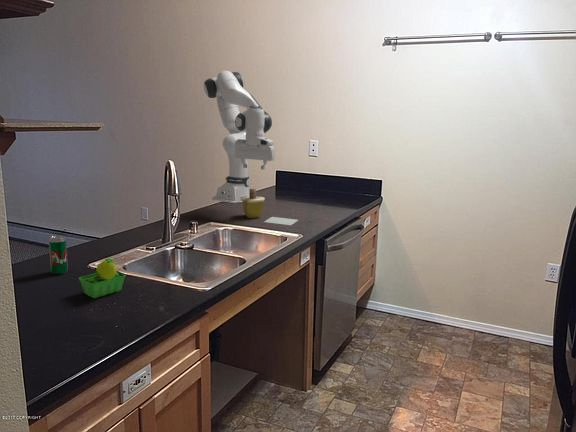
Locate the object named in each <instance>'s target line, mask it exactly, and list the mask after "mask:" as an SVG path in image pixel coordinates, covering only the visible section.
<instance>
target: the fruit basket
mask: <svg viewBox="0 0 576 432" xmlns="http://www.w3.org/2000/svg"><path fill="white" fill-rule="evenodd" d="M95 270H96V272H95V273H92V274H87V275H84V276H83V275H82V276H80V277H78V280H79V282H80V284H81V286H82V289H83V292H84V295H87V296H89V297H90V298H92V299H96V298H99V297H102V296H103V297H104V296H107V295H111V294H113V293H114V294H115V293H117V292H121V291H122V288H123V285H124V281H125V279H126V273H123V272H121V271H119V270H117V267H116V264H115V260H114V259H113V258H110V257H108V258H105V259H104V260H102V261H101V262H100V263H99V264H98V265H97V266H96V268H95Z"/></svg>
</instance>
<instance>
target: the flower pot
mask: <svg viewBox="0 0 576 432" xmlns="http://www.w3.org/2000/svg"><path fill="white" fill-rule="evenodd" d="M264 203H265V201H263V202H258V203H250V202H242V209H243V213H244V215H245V216H246V217H247V218H249V219H255V218H260V217H261V215H262V214H263V211H264V210H263V209H264Z"/></svg>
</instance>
